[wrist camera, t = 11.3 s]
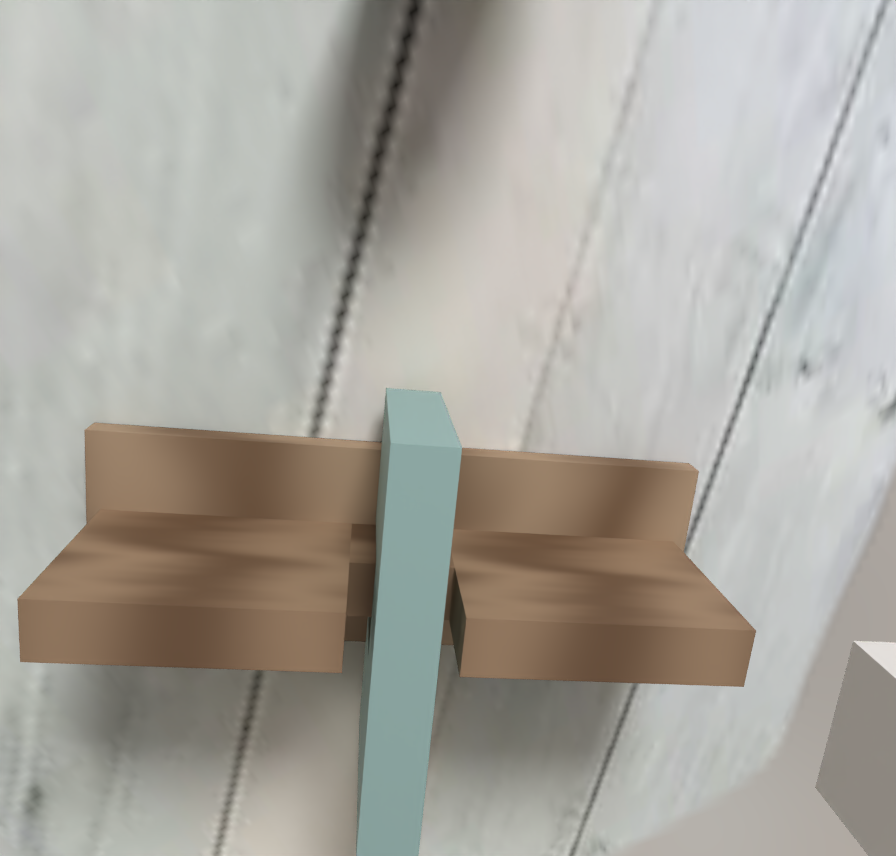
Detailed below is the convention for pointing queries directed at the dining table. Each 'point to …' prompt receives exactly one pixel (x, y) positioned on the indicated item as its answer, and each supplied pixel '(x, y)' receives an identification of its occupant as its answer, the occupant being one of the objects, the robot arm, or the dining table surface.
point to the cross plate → (405, 619)
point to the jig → (354, 561)
